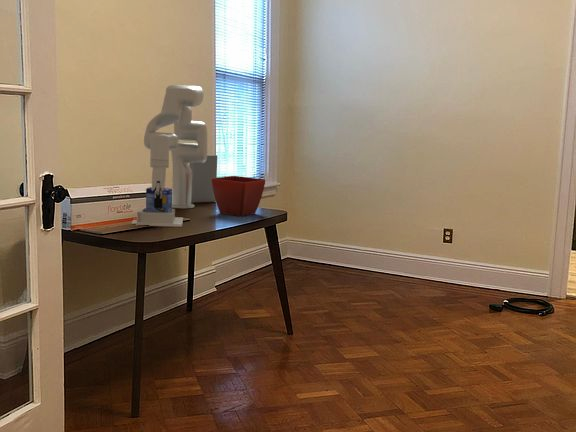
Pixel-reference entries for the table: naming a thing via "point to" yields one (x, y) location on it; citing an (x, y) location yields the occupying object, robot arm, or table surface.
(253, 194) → the plant pot
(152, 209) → the ink cartridge box
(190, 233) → the table surface
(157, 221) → the end holder
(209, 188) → the grey slab
